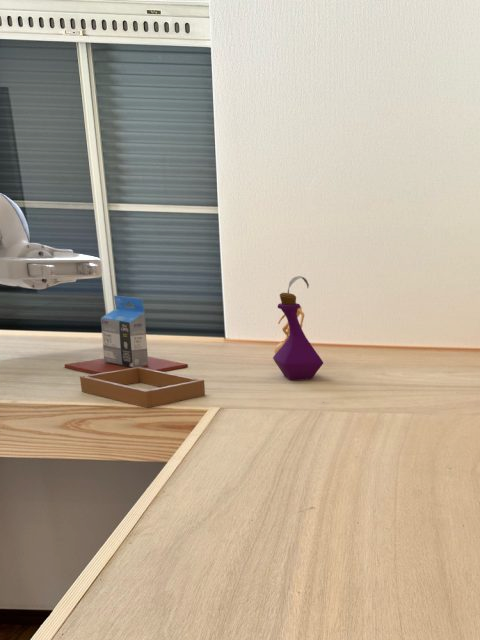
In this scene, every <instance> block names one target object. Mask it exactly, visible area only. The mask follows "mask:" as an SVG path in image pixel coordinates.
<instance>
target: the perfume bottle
mask: <svg viewBox="0 0 480 640" xmlns="http://www.w3.org/2000/svg"><path fill="white" fill-rule="evenodd" d="M300 279H302V280H303V281H304V283H305V284H306V287H307V289H309V288H310V287H309V286H310V284H309V282H308V280H307V279H306V277H305V276H302V275H297V276H294V277H292V278H290V281H289V283H288V288H287V292H281V293H280V294H279V298H280V303H278V304H277V309H279V310H281V312H283V315H284V314H285V315H286V316H285V317H286V320H287V321H288V324H289V330H290V334H289V337H288V339H287V340H286V342H285V343H284V345H283V346H282V347H281V348H280V349H279V351H278V352H277V353H276V354H275V353H274V355H273V357H272V360H273V361H274V362H275V364H276V366H277V367H278V368H279V370H280V372H281V373H282V375H283V376H284V377H285V378H287V379H288V380H290V381H304V380H313V378H314V377H315V375H316V374H317V373H318V371H319V370H320V368H321V367H322V365H324V361H323V360H322V358H321V357H320V355H319V354H318V352H317V351H316V350H315V348H314V347H313V344H311V343H310V341H309V340H308V338H307V336H306V335H305V332H304V331H303V329H302V328H303V327H302V328H301V326H300V324H301V323H300V321H299V317H298V318H297V310H298V309H299V308H300V306H301V304H300V303H298V302H297V296H296V295H295V294H293V293H291V292H290V288H291V287H292V285H293V284H294V283H295V282H296V281H297V280H300Z"/></svg>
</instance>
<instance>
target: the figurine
mask: <svg viewBox="0 0 480 640" xmlns="http://www.w3.org/2000/svg"><path fill="white" fill-rule="evenodd" d="M300 315H301V317H300ZM285 317H286V315H285V314H284V313H283V314H282V316H281V317H280V319H279V321H278V323H277V325H280V324H281V322H282V320H283V319H284V318H285ZM299 317H300V323H299V324H300V326H301V328H303V323H304V318H305V313H304V312H303V310H302V306H301V305H300V308H299V309H298V310H297V318H298V319H299ZM282 332H283V333H284V334H285V336H286V337H285V338H284V340H282V341H281V342H279V343H278V344H277V345H276V346H275V349H274V355H275V354H276V353H277V352H278V351H279V349H280V348H281V347H282V346H283V345H284V343H285V342H286V340H287V339H288V337H289V334H290V330H289V324H288V320H287V321H286V323H285V324H284V326H282Z"/></svg>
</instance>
